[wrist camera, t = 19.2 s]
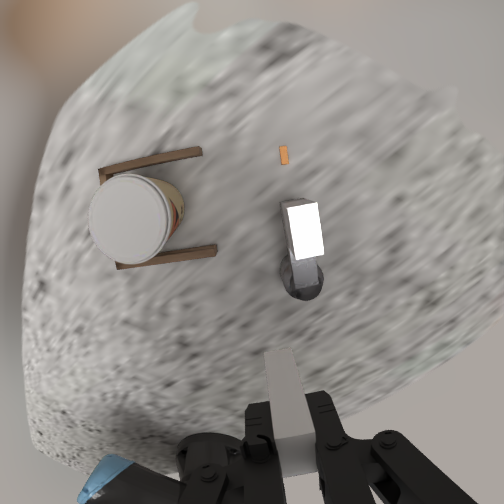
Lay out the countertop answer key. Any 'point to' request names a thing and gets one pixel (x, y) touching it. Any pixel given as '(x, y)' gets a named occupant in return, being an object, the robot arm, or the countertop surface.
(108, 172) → the brown u-shaped wooden bracket
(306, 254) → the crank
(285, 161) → the orange small block
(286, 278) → the pedestal
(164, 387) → the countertop surface
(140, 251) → the coffee cup
